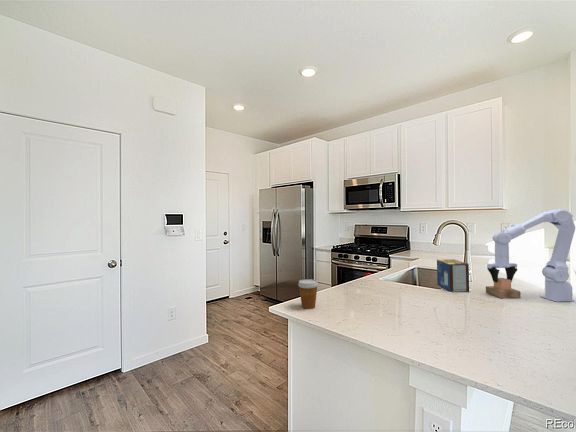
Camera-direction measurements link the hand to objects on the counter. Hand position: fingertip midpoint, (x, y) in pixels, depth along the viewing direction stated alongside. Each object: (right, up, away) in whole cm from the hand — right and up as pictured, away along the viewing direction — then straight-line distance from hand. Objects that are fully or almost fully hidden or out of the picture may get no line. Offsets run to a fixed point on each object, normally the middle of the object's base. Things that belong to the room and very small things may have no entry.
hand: (502, 281), depth 140 cm
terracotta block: (0, -4, 0) cm, 4 cm away
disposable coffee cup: (-101, -9, -12) cm, 103 cm away
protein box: (-17, -8, +15) cm, 24 cm away
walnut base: (0, -8, 0) cm, 8 cm away
